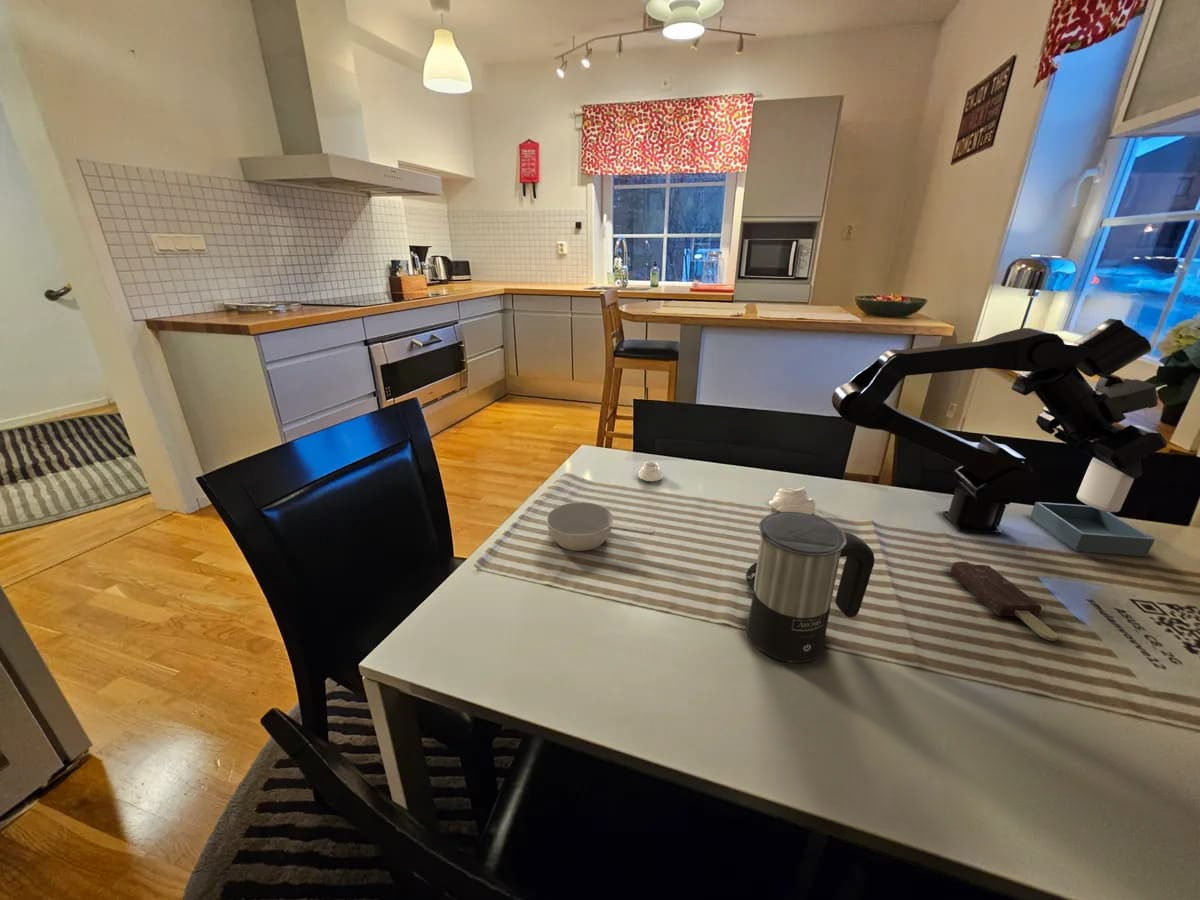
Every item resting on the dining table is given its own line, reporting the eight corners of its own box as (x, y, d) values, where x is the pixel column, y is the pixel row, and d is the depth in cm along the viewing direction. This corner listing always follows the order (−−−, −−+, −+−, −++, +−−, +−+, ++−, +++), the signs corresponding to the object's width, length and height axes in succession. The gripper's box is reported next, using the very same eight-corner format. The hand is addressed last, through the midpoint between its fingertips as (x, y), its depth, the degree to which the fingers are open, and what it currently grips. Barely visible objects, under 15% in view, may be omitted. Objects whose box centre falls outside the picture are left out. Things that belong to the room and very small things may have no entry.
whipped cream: (774, 521, 88) (777, 498, 85) (762, 501, 94) (764, 479, 91) (819, 518, 88) (823, 495, 85) (803, 498, 94) (807, 476, 91)
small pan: (565, 515, 87) (564, 496, 86) (662, 536, 81) (664, 515, 80) (535, 545, 78) (534, 524, 77) (643, 571, 72) (644, 549, 70)
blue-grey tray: (1075, 550, 78) (1082, 533, 77) (1029, 517, 88) (1035, 501, 87) (1147, 556, 76) (1155, 539, 75) (1092, 521, 87) (1099, 506, 85)
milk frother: (784, 676, 54) (806, 562, 49) (695, 595, 67) (704, 497, 62) (868, 634, 60) (896, 529, 55) (772, 567, 73) (786, 477, 68)
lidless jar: (662, 473, 105) (638, 472, 105) (662, 460, 104) (639, 459, 104) (662, 483, 100) (638, 482, 101) (663, 470, 99) (638, 468, 100)
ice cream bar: (1072, 644, 59) (980, 570, 73) (1077, 633, 58) (983, 560, 72) (1029, 644, 59) (945, 570, 73) (1034, 633, 58) (948, 561, 72)
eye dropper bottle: (1085, 509, 79) (1115, 439, 74) (1073, 495, 83) (1100, 428, 79) (1121, 515, 77) (1154, 444, 72) (1107, 501, 81) (1137, 433, 77)
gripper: (1181, 375, 64) (1243, 461, 66) (1082, 351, 81) (1134, 420, 83) (1088, 427, 68) (1148, 507, 70) (1012, 394, 85) (1063, 458, 87)
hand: (1122, 469), depth 77 cm, fingers closed on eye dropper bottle, 5 cm apart
